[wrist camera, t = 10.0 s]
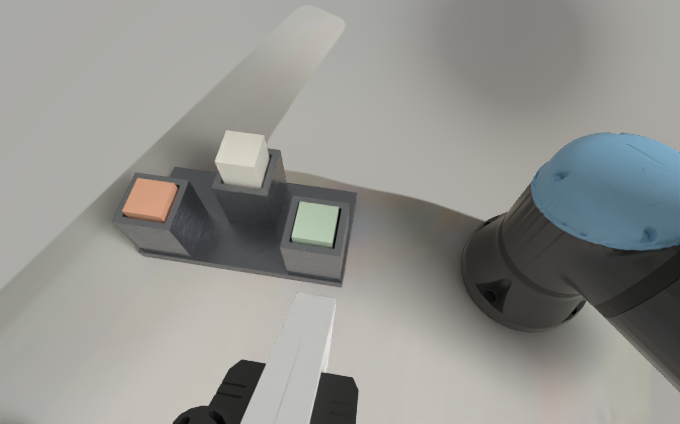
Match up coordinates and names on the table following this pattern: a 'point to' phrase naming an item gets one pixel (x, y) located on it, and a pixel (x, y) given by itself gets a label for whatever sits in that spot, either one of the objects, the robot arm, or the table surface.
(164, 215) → the terracotta button
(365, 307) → the table surface
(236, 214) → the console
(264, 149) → the ivory button
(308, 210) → the sage button
